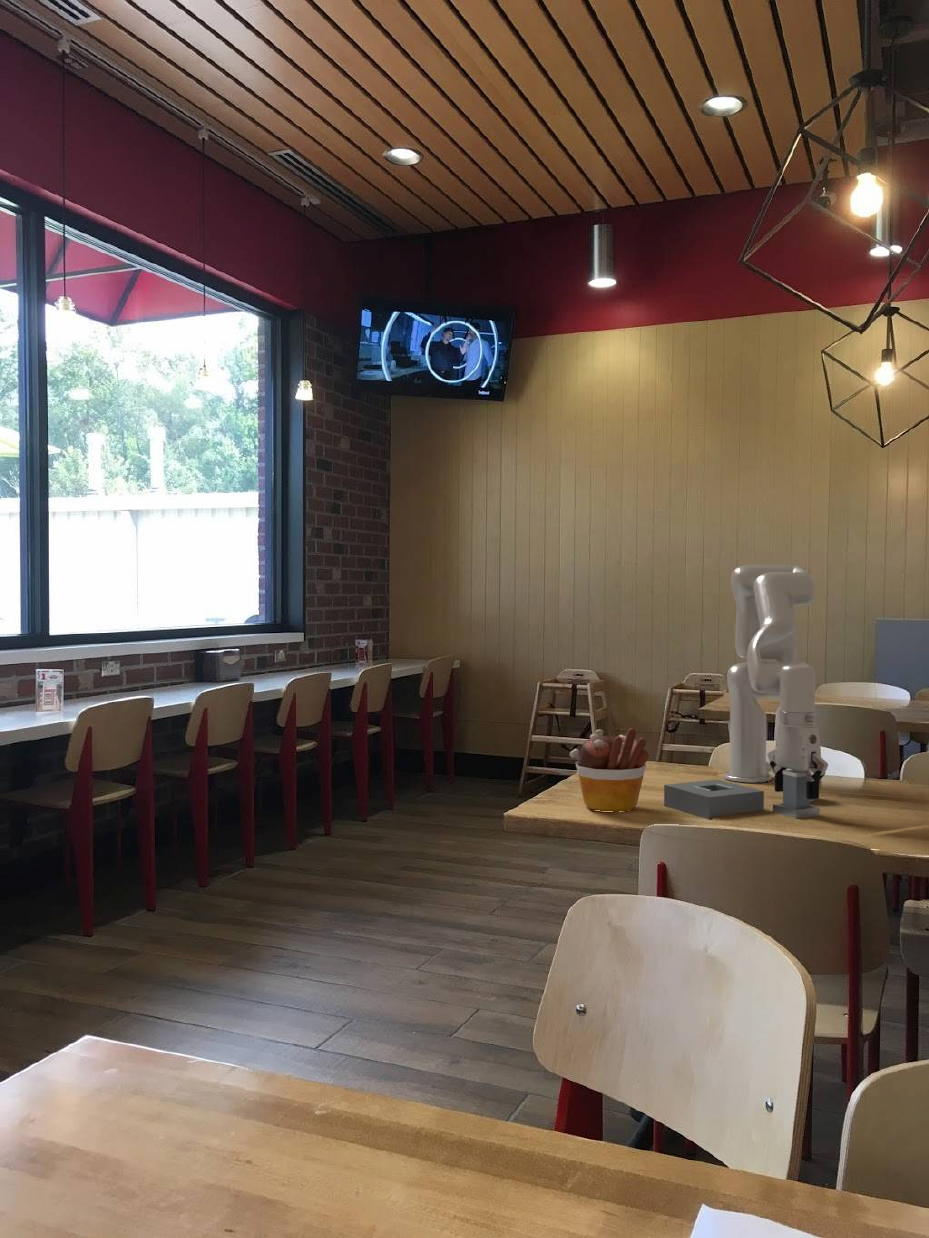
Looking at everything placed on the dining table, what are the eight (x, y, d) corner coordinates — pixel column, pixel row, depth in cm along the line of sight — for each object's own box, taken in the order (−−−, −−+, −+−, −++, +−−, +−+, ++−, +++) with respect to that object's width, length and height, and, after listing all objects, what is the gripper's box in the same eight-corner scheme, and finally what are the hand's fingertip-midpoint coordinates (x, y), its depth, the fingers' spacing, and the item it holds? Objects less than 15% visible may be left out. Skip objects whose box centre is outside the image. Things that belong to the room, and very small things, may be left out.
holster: (796, 811, 231) (796, 801, 231) (819, 817, 224) (819, 807, 224) (772, 814, 228) (772, 804, 228) (795, 821, 221) (795, 810, 221)
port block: (717, 799, 244) (717, 778, 244) (763, 812, 230) (763, 790, 229) (664, 805, 237) (664, 783, 237) (708, 819, 222) (709, 796, 222)
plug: (796, 810, 229) (796, 769, 229) (809, 814, 225) (810, 772, 225) (782, 812, 227) (782, 770, 227) (795, 816, 223) (796, 773, 223)
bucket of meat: (560, 802, 240) (560, 720, 240) (620, 797, 246) (620, 717, 246) (601, 820, 221) (602, 730, 221) (665, 814, 228) (665, 727, 227)
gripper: (839, 722, 219) (838, 800, 220) (781, 714, 235) (781, 787, 235) (813, 724, 216) (813, 803, 216) (757, 716, 231) (756, 789, 232)
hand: (796, 794), depth 226 cm, fingers open, 9 cm apart
